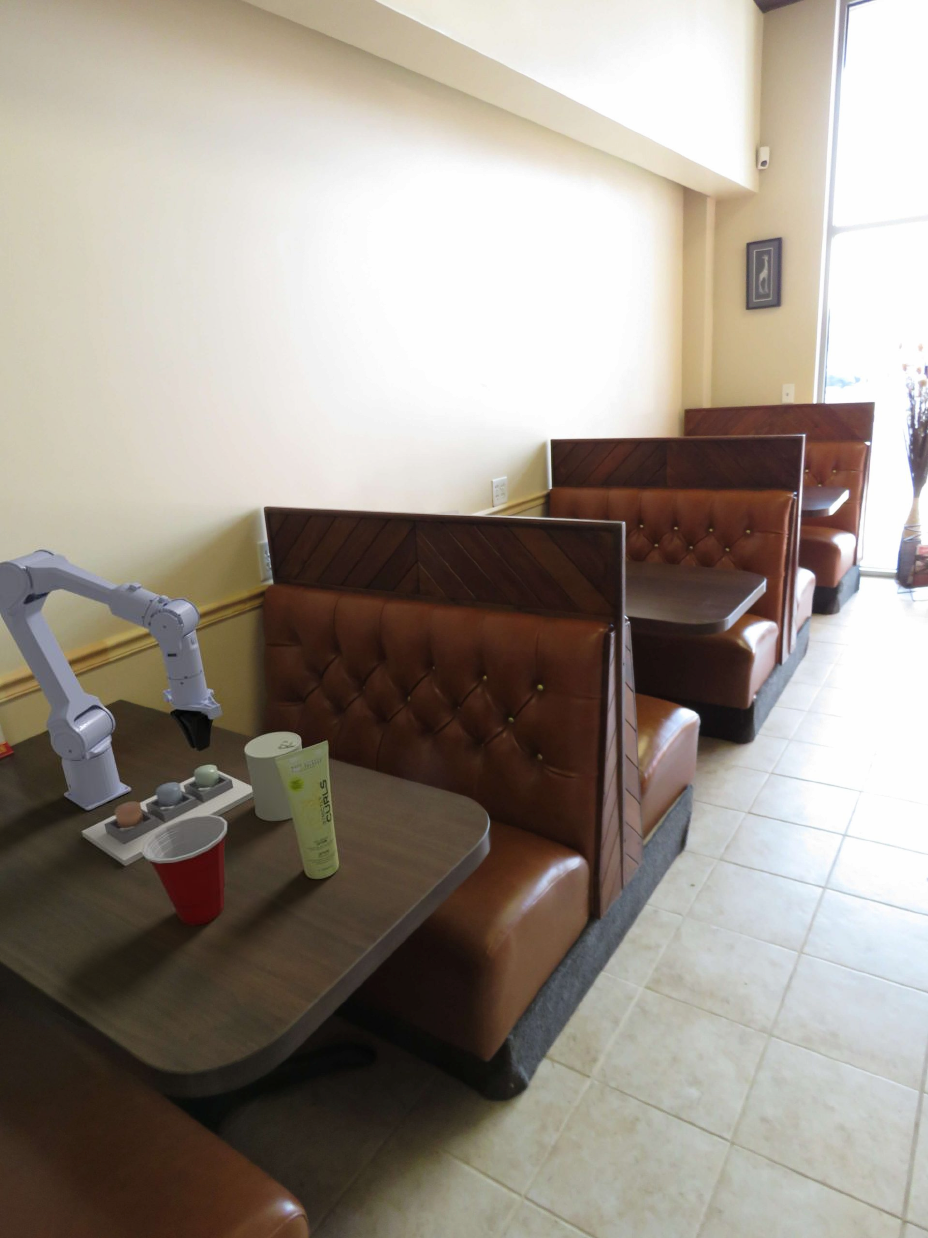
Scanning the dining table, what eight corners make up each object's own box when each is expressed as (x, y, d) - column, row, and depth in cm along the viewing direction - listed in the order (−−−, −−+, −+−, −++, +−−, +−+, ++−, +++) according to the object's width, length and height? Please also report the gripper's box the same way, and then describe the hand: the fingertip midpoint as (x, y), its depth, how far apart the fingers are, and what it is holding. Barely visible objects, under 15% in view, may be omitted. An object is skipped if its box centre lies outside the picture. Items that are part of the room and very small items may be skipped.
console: (83, 836, 121) (79, 822, 120) (212, 772, 138) (210, 760, 137) (125, 866, 112) (121, 851, 111) (258, 794, 129) (255, 780, 129)
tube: (327, 885, 104) (307, 760, 98) (295, 880, 105) (274, 757, 100) (345, 860, 109) (327, 740, 103) (314, 856, 111) (295, 737, 105)
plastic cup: (213, 875, 108) (198, 802, 105) (258, 903, 101) (244, 826, 98) (143, 918, 100) (124, 841, 97) (187, 951, 94) (168, 870, 90)
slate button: (154, 803, 124) (151, 790, 123) (175, 792, 127) (172, 780, 126) (166, 809, 122) (163, 796, 121) (187, 799, 124) (184, 786, 124)
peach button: (113, 823, 119) (110, 810, 118) (136, 812, 122) (132, 799, 121) (125, 830, 117) (121, 817, 116) (147, 819, 119) (144, 805, 119)
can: (297, 822, 120) (286, 756, 116) (245, 820, 122) (232, 754, 118) (319, 792, 128) (309, 729, 125) (270, 790, 130) (259, 728, 127)
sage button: (191, 784, 129) (189, 772, 128) (211, 774, 132) (208, 762, 131) (204, 790, 127) (201, 778, 126) (223, 780, 129) (221, 768, 129)
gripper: (231, 673, 121) (245, 748, 126) (183, 658, 130) (197, 728, 135) (192, 688, 116) (208, 765, 120) (145, 671, 125) (161, 744, 130)
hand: (200, 747), depth 127 cm, fingers closed
